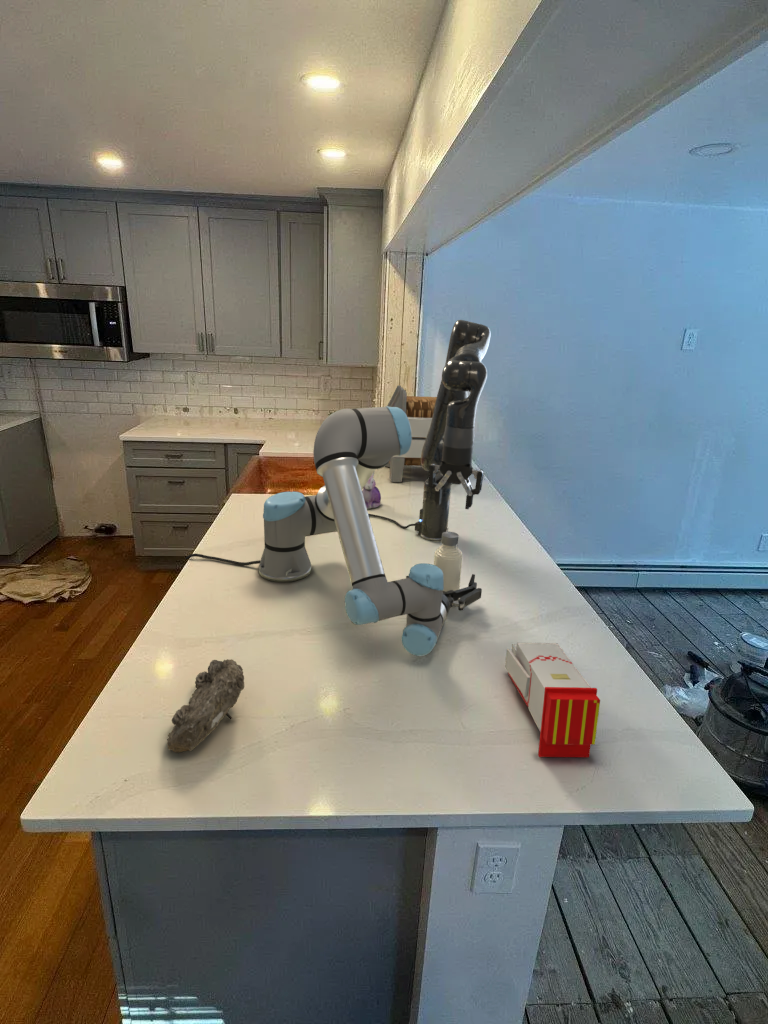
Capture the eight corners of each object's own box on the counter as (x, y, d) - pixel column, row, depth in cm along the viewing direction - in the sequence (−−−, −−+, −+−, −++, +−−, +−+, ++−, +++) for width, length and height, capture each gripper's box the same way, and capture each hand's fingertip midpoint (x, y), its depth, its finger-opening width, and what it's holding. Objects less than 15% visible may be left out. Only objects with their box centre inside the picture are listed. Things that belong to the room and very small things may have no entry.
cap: (440, 545, 148) (440, 536, 148) (442, 538, 153) (442, 530, 152) (457, 547, 148) (458, 538, 147) (458, 540, 152) (459, 532, 151)
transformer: (382, 463, 289) (386, 382, 275) (445, 464, 293) (451, 384, 279) (390, 482, 257) (394, 392, 243) (460, 483, 261) (468, 394, 247)
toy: (553, 625, 127) (610, 695, 97) (548, 680, 129) (601, 765, 100) (500, 624, 126) (540, 694, 97) (495, 679, 129) (533, 764, 100)
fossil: (192, 660, 117) (244, 628, 112) (224, 691, 120) (276, 661, 115) (142, 746, 98) (202, 712, 93) (182, 779, 101) (242, 748, 96)
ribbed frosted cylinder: (429, 604, 153) (434, 539, 147) (432, 591, 160) (437, 529, 154) (456, 608, 152) (463, 543, 145) (459, 595, 159) (465, 532, 152)
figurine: (365, 510, 221) (366, 473, 215) (354, 502, 229) (355, 466, 224) (386, 507, 225) (388, 471, 220) (375, 500, 233) (376, 464, 228)
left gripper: (382, 614, 142) (404, 579, 161) (481, 634, 135) (492, 594, 154) (383, 587, 139) (405, 554, 158) (485, 606, 132) (495, 569, 152)
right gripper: (489, 444, 142) (483, 506, 148) (434, 437, 147) (430, 498, 152) (484, 450, 135) (477, 515, 141) (426, 443, 140) (422, 506, 145)
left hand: (448, 574), depth 156 cm, fingers open, 13 cm apart
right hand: (452, 506), depth 147 cm, fingers open, 7 cm apart
